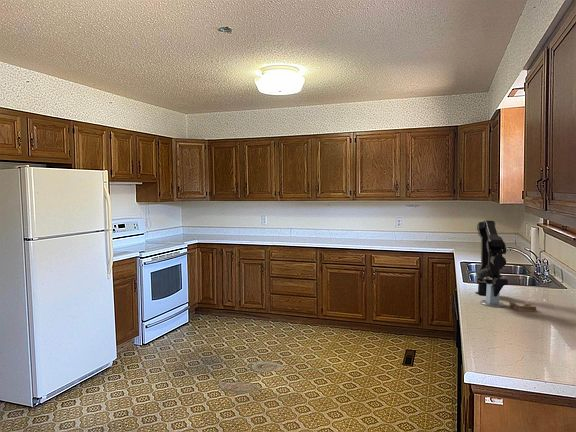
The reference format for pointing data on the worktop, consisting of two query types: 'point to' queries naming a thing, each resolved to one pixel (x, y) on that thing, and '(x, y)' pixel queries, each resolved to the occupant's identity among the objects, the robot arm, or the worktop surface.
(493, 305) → the charcoal trivet
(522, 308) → the walnut bay
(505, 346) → the worktop surface
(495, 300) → the slate block
